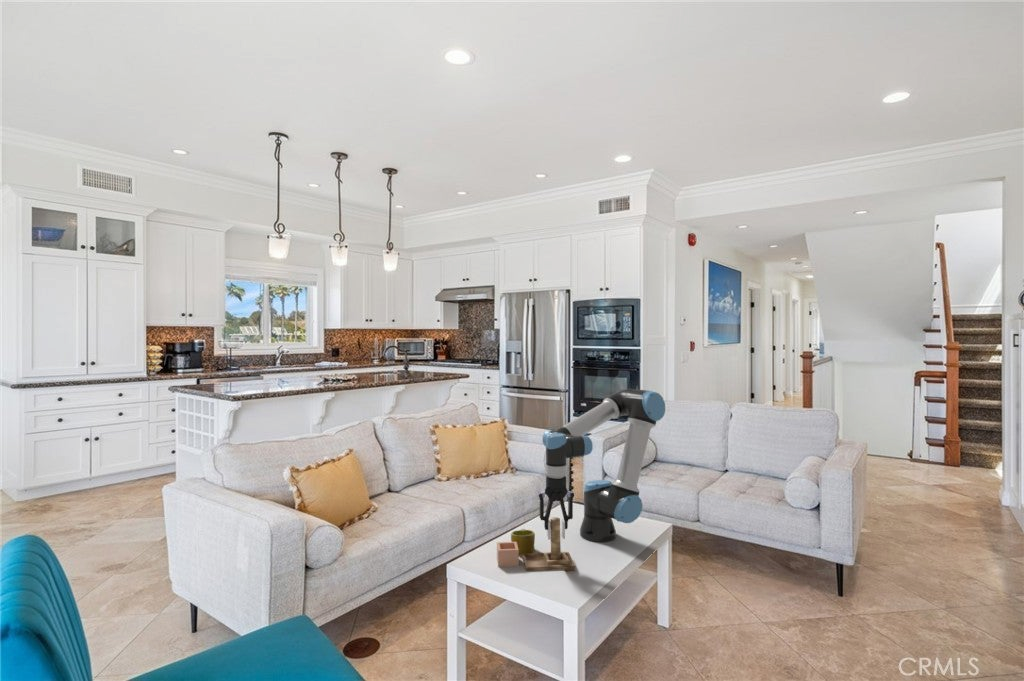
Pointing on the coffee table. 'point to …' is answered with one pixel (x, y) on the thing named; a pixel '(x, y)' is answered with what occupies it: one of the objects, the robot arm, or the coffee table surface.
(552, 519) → the dowel
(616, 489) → the robot arm
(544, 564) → the tray
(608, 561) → the coffee table surface
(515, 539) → the mug
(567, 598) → the coffee table surface
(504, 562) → the pink hollow box
